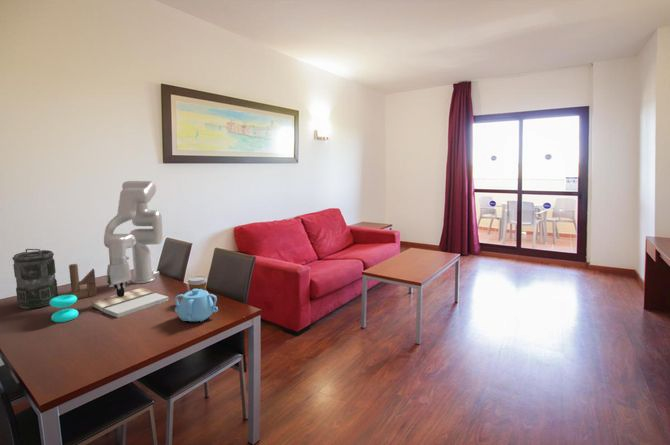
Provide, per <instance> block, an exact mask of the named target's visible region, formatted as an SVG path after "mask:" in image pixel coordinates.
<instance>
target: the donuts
mask: <svg viewBox="0 0 670 445" xmlns="http://www.w3.org/2000/svg"><path fill="white" fill-rule="evenodd" d="M77 301H78V299H77V297H76V296H75V295H71V294H62V295H58V296H57V297H55V298H53V299H51V300H50V305H49V306H51V307H53V308H56V309H57V308H63V309H60V310H57V311H56V312H54V313H53V314H52V315H51V317H50V318H51V321H53V322H54V323H65V322H69V321H73V320H74V319H76V318H77V317H79V311H78V310H77V309H75V308H66V307H70V306H72V305H74V304H75V303H77Z"/></svg>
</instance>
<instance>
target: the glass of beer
mask: <svg viewBox="0 0 670 445" xmlns="http://www.w3.org/2000/svg"><path fill="white" fill-rule="evenodd" d="M187 283H188V287H189V291H192V290H193V289H203V290H206V291H207V289H206V288H207V283H208V278H207V276H204V275H195V276H191V277H189V278H188V280H187Z"/></svg>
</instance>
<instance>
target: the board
mask: <svg viewBox="0 0 670 445" xmlns="http://www.w3.org/2000/svg"><path fill="white" fill-rule="evenodd" d="M168 300H169V301H170V299H169V296H168V295H163V294H160V293H157V292H156V291H152V292H151V293H148V294H145V295H142V296H138V297H135V298H132V299H128V300H125V301H122V302H119V303H115V304H112V305H109V306H106V307H103V309H104V312H103V313H104V314H108V315H110V316H113V317H115V318H121V317H124V316H127V315H130V314H133V313H137V312H139V311H143V310H145V309H147V308H150V307H154V306H157V305H160V304H163V303H165V301H166V302H168ZM162 302H163V303H162Z"/></svg>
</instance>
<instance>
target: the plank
mask: <svg viewBox="0 0 670 445" xmlns="http://www.w3.org/2000/svg"><path fill="white" fill-rule="evenodd" d="M151 292H153V290H149V289H147V288H145V287H138V288H136V289H131V290H129V291H124V296H122V297H120V296H118V295H117V294H116V295H115V294H114V295H111V296H109V297H108V296H107V297H104V298H102V299H97V300H95V301H91V306H92V307H93V308H95V309H96V310H97V309H98V310H99V311H101V312H102V313H104V309H103V307H106V306H109V305H112V304H115V303H119V302H122V301H125V300H128V299H132V298H135V297H138V296H142V295H145V294H148V293H151Z"/></svg>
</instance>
